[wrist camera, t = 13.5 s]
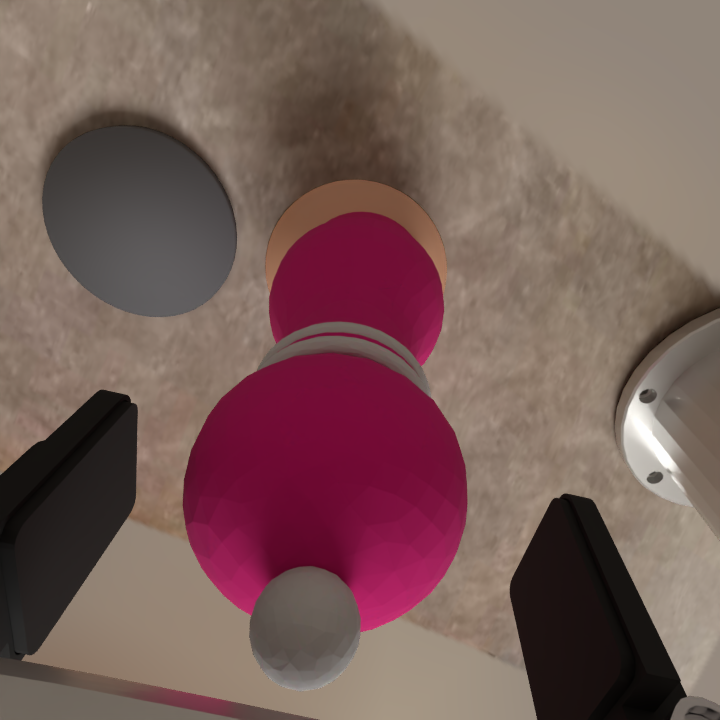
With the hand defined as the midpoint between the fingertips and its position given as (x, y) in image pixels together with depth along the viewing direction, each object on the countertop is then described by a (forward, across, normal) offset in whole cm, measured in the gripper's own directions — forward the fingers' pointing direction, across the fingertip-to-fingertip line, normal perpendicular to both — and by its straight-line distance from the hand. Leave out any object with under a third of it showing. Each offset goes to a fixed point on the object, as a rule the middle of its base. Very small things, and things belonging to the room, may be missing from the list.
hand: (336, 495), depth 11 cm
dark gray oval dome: (+16, +11, 0) cm, 19 cm away
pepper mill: (+16, +1, 0) cm, 16 cm away
